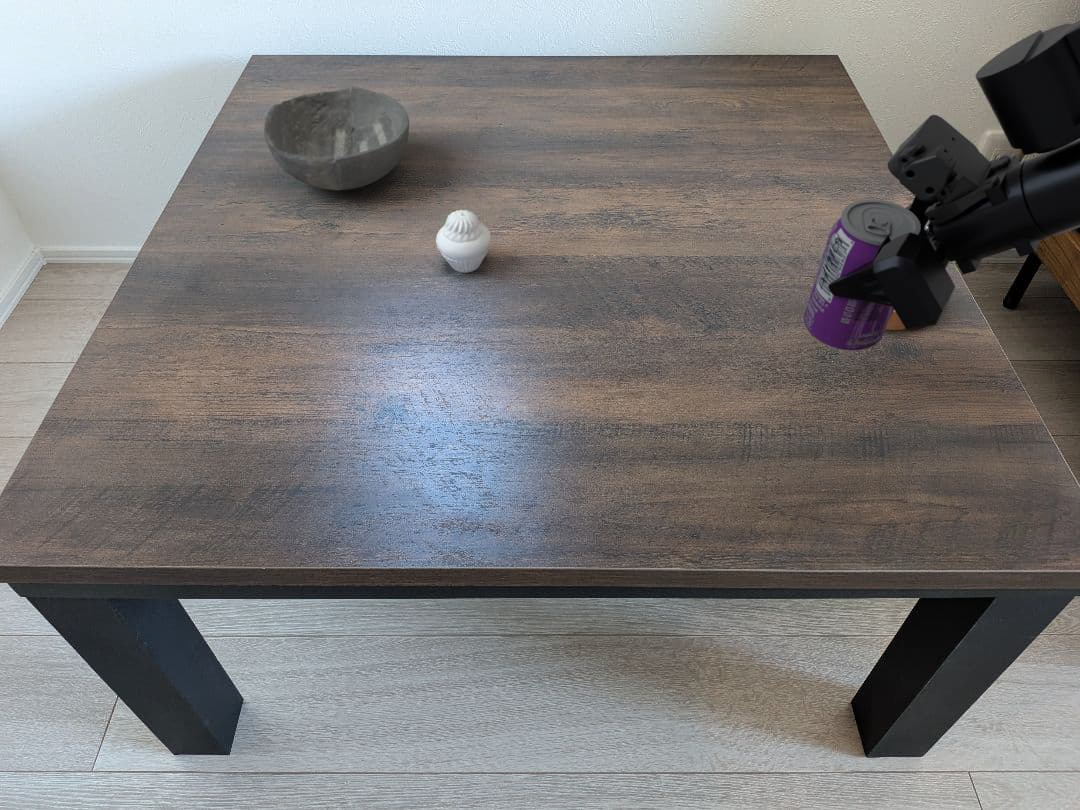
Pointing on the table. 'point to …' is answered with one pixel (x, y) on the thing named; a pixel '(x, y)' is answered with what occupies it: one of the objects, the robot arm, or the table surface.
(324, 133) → the bowl
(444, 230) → the muffin
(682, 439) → the table surface
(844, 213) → the beverage can
